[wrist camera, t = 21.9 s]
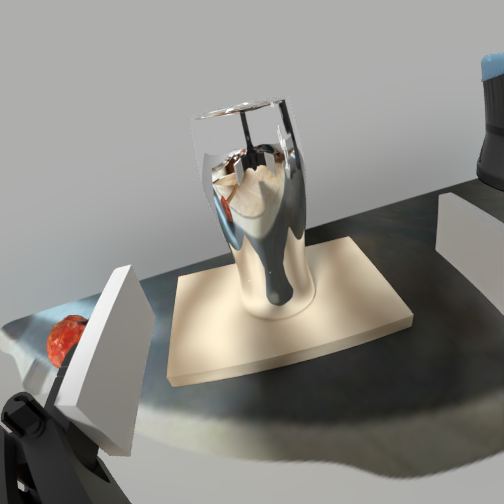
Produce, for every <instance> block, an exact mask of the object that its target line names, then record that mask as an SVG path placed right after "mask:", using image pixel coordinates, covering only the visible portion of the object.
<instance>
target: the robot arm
mask: <svg viewBox="0 0 504 504" xmlns="http://www.w3.org/2000/svg"><path fill="white" fill-rule="evenodd" d="M481 68H482V82H483V87H484V98H485V122H486V135H485V139H484V142H483V146H482V149H481V153H480V157H479V159H478V161H477V176H478V178H479V179H480V180H482V181H483V182H485V183H486V184H488V185H490V186H493V187H495V188H497V189H500V190H503V191H504V53H498V54H490V55H487V56H485V57H484V58H483V59H482V61H481ZM435 250H436V251H437V252H438V253H439V254H441V255H442V256H443V257H444V258H445V259H446V260H447V261H448V262H450V263H451V264H452V265H453V266H454V267H455V268H456V269H457V270H458V271H460V272H461V273H462V274H463V275H464V276H465V277H466V278H467V279H468V280H469V281H470V282H471V283H472V284H473V285H474V286H475V287H476V288H477V289H478V290H480V291H481V292H482V293H483V294H484V295H485V296H486V297H487V298H488V299H489V300H490V301H491V302H492V303H493V305H494V306H495V307H496V308H497V309H498V310H499V311H500V312H501V313H502V314H503V315H504V223H502V222H500V221H499V220H497V219H496V218H494V217H493V216H491V215H489V214H488V213H486V212H484V211H483V210H481V209H479V208H478V207H476V206H474V205H473V204H471V203H469V202H467V201H466V200H464V199H462V198H460V197H459V196H457V195H455V194H453V193H446V194H441V195H439V208H438V225H437V238H436V249H435ZM155 320H156V317H155V315H154V313H153V311H152V309H151V307H150V304H149V302H148V300H147V298H146V296H145V294H144V292H143V290H142V287H141V285H140V283H139V281H138V279H137V276H136V274H135V272H134V270H133V267H132V265H128V266H124V267H120V268H116V269H115V270H114V271H113V273H112V275H111V277H110V279H109V281H108V283H107V285H106V287H105V289H104V291H103V293H102V295H101V297H100V299H99V301H98V303H97V305H96V307H95V309H94V311H93V313H92V315H91V317H90V319H89V321H88V323H87V326H86V328H85V330H84V332H83V334H82V337H81V339H80V341H79V343H75V344H74V345H73V346H72V347H71V348H70V350H69V351H68V352H67V353H66V355H65V357H64V359H63V362H62V364H61V368H60V369H59V371H58V373H57V377H56V378H55V381H54V383H53V386H52V388H51V391H50V393H49V396H48V398H47V401H46V404H45V406H44V408H43V407H42V406H41V405H40V404H39V403H38V402H37V401H36V400H35V399H34V397H33V396H32V395H31V394H29V393H27V392H20V393H17V394H15V395H13V396H12V397H11V398H10V399H9V400H8V401H7V403H6V404H5V406H4V407H3V411H2V413H1V422H3V423H4V424H5V425H6V426H7V427H8V428H9V429H10V430H11V431H12V433H8V432H7V431H6V430H5V429H4V428H3V427H2V426H1V425H0V504H131V503H130V501H129V500H128V498H127V497H126V496H125V494H124V493H123V491H122V490H121V489H120V487H119V486H118V484H117V483H116V481H115V480H114V478H113V477H112V475H111V473H110V472H109V470H108V469H107V467H106V466H105V464H104V462H103V461H102V460H101V459H100V458H99V457H98V456H97V454H98V449H99V447H100V448H101V449H102V450H104V452H106V453H107V454H108V455H109V456H131V448H132V441H133V435H134V428H135V422H136V416H137V410H138V404H139V398H140V392H141V387H142V382H143V377H144V371H145V366H146V361H147V357H148V352H149V347H150V343H151V338H152V333H153V329H154V325H155ZM17 480H18V481H19V482H21V483H22V484H24V487H25V490H24V491H22V490H20V489H19V488H18V483H17Z"/></svg>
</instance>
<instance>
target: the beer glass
mask: <svg viewBox="0 0 504 504" xmlns="http://www.w3.org/2000/svg"><path fill="white" fill-rule="evenodd" d="M188 120H189V123H190V128H191V133H192V140H193V147H194V152H195V157H196V162H197V167H198V171H199V175H200V179H201V183H202V186H203V189H204V192H205V195H206V198H207V201H208V203H209V206H210V208H211V210H212V213H213V215H214V217H215V219H216V222H217V224H218V226H219V228H220V230H221V232H222V234H223V236H224V238H225V240H226V242H227V244H228V246H229V248H230V250H231V253H232V255H233V257H234V259H235V262H236V265H237V268H238V273H239V279H240V294H241V302H242V305H243V307H244V309H245V310H246V311H247V312H248V313H249V314H251V315H253V316H255V317H257V318H261V319H268V320H276V319H283V318H287V317H290V316H293V315H295V314H297V313H299V312H301V311H302V310H304V309H305V308H306V307H307V306H308V305H309V304H310V303H311V302H312V300H313V298H314V294H315V286H314V282H313V279H312V276H311V273H310V270H309V268H308V264H307V260H306V254H305V226H306V205H307V180H306V169H305V161H304V155H303V149H302V144H301V139H300V135H299V132H298V127H297V124H296V120H295V116H294V113H293V109H292V106H291V101H290V97H289V96H286V97H285V96H284V97H276V98H269V99H262V100H256V101H251V102H246V103H240V104H236V105H232V106H227V107H223V108H218V109H214V110H211V111H207V112H204V113H200V114H197V115H193V116H191V117H189V118H188Z"/></svg>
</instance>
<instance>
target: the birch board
mask: <svg viewBox="0 0 504 504" xmlns="http://www.w3.org/2000/svg"><path fill="white" fill-rule="evenodd" d="M305 254H306V260H307V264H308V268H309V270H310V273H311V276H312V279H313V282H314V286H315V294H314V298H313V300H312V302H311V303H310V304H309V305H308V306H307V307H306V308H305V309H304V310H302V311H301V312H299V313H297V314H295V315H293V316H290V317H287V318H283V319H276V320H268V319H261V318H257V317H255V316H253V315H251V314H249V313H248V312H247V311H246V310H245V309H244V307H243V305H242V302H241V294H240V279H239V273H238V268H237V265H236V264H232V265H227V266H223V267H219V268H215V269H210V270H206V271H202V272H198V273H193V274H189V275H185V276H180V277H179V279H178V286H177V293H176V300H175V308H174V315H173V323H172V332H171V340H170V349H169V359H168V369H167V379H168V380H169V382H170V383H171V385H172V386H173V387H178V386H185V385H191V384H198V383H204V382H210V381H215V380H221V379H226V378H232V377H237V376H242V375H246V374H251V373H256V372H260V371H265V370H269V369H274V368H278V367H282V366H286V365H290V364H294V363H298V362H302V361H305V360H309V359H313V358H316V357H320V356H324V355H327V354H330V353H334V352H337V351H341V350H344V349H347V348H350V347H353V346H357V345H360V344H363V343H366V342H369V341H372V340H375V339H378V338H381V337H383V336H386V335H389V334H392V333H395V332H397V331H400V330H403V329H405V328H408V327H411V326H412V321H413V315H414V314H413V313H412V312H411V311H410V309H409V308H408V307H407V305H406V304H405V303H404V302H403V300H402V299H401V298H400V297H399V295H398V294H397V293H396V292H395V290H394V289H393V288H392V287H391V285H390V284H389V283H388V282H387V281H386V279H385V278H384V277H383V276H382V274H381V273H380V272H379V271H378V270H377V269H376V267H375V266H374V265H373V264H372V263H371V261H370V260H369V259H368V258H367V257H366V256H365V254H364V253H363V252H362V251H361V250H360V249H359V247H358V246H357V245H356V244H355V243H354V242H353V241H352V240H351V238H350V237H345V238H340V239H336V240H332V241H328V242H324V243H320V244H316V245H312V246H307V247H305Z"/></svg>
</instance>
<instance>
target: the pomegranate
mask: <svg viewBox="0 0 504 504" xmlns="http://www.w3.org/2000/svg"><path fill="white" fill-rule="evenodd" d="M89 319H90V318H89ZM89 319H88V320H87V319H85V318H83V317H82V316H79V315H69V316H67V317H66V318H64V319H63V320H62V321H61V322H58V323H57V324H55V325H54V326H53V327H52V329H51V332H50V334H49V337H48V340H47V353H48V356H49V359H50V361H51V363H52V364H53V365H54V366H55V367H57V368H59V369H60V368H61V364H62V362H63V359H64V357H65V355H66V353H67V352H68V351H69V350H70V348H71V347H72V346H73V345H74V344H75V343H79V341H80V339H81V337H82V334H83V332H84V330H85V328H86V326H87V323H88V321H89Z"/></svg>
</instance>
